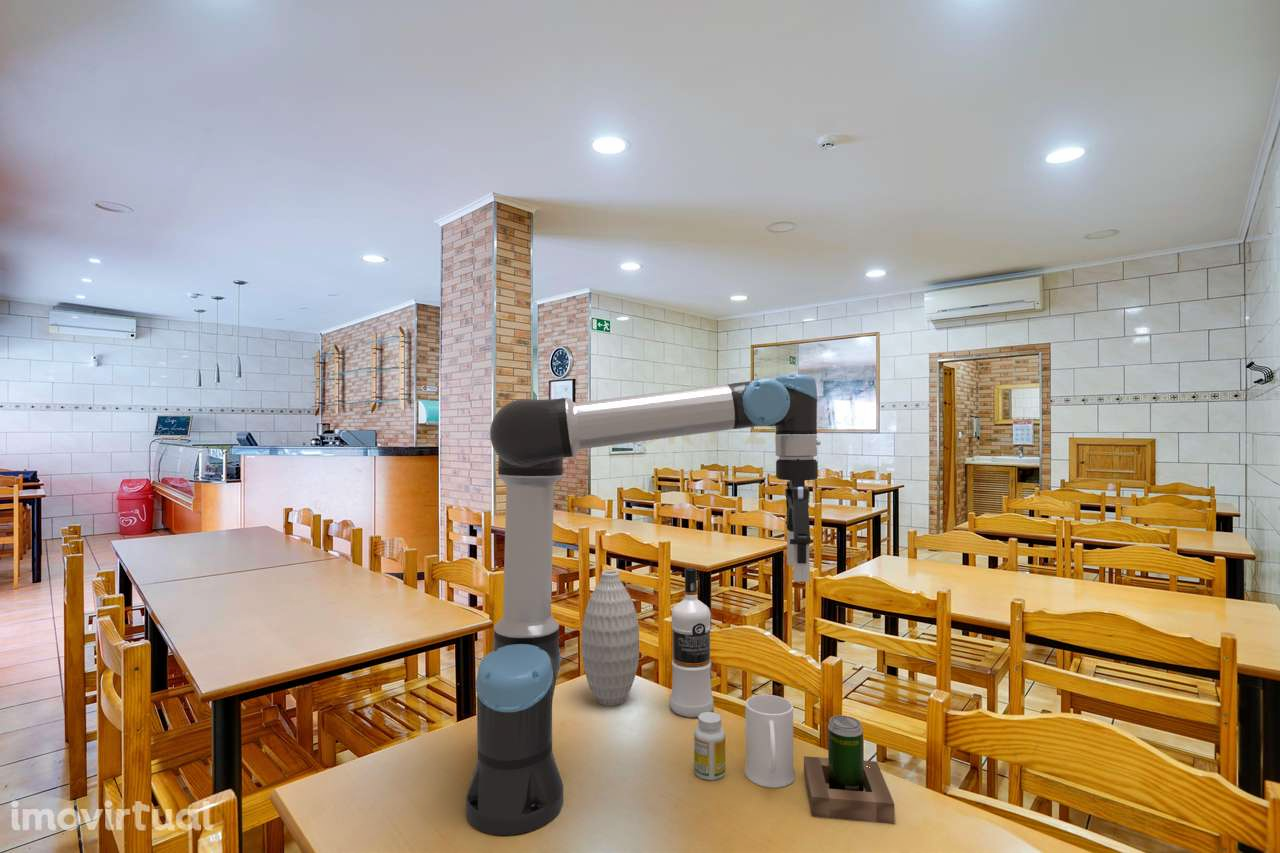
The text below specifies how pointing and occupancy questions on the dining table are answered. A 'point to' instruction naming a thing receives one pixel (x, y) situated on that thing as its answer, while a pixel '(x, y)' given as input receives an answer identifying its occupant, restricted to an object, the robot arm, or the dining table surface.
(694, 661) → the vodka
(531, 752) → the robot arm
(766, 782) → the mug
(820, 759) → the holder
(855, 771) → the beer can
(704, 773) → the supplement bottle
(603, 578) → the vase
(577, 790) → the dining table surface
